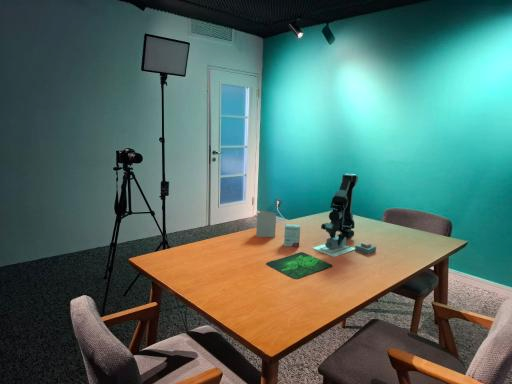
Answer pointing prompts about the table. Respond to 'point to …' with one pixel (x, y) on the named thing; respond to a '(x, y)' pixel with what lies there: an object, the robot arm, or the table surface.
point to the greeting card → (266, 224)
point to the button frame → (365, 249)
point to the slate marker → (334, 242)
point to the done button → (366, 244)
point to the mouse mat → (298, 265)
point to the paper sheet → (334, 250)
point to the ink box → (292, 235)
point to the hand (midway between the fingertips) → (335, 244)
